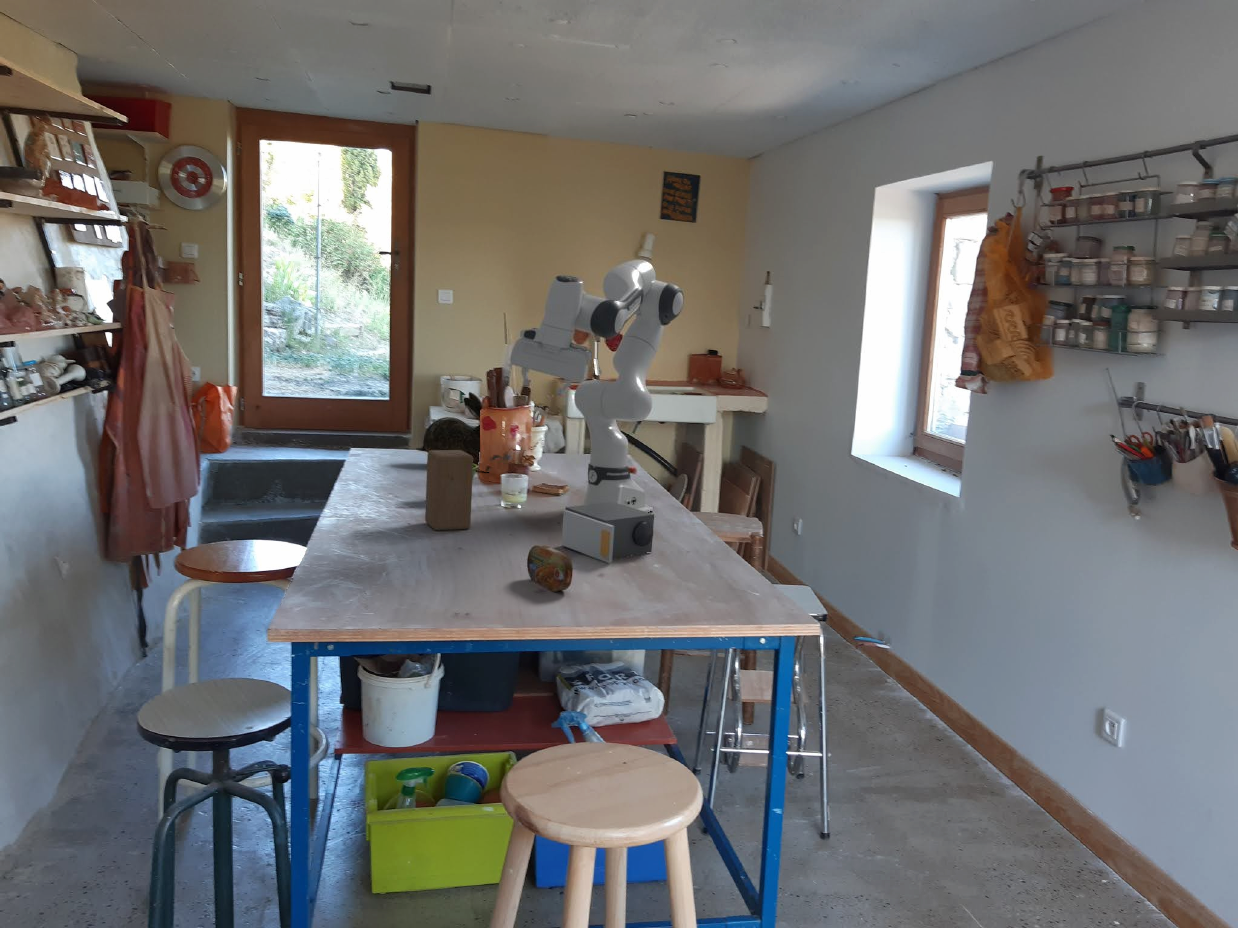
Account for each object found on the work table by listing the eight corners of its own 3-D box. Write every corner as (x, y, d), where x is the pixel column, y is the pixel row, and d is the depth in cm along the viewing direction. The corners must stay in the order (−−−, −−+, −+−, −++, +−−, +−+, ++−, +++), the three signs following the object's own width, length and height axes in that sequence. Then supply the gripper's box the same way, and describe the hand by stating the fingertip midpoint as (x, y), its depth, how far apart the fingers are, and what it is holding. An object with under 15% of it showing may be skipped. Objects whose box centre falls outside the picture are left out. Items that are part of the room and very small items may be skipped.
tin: (525, 577, 213) (527, 541, 211) (537, 576, 214) (539, 539, 213) (561, 596, 201) (563, 558, 199) (573, 594, 203) (576, 556, 201)
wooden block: (434, 531, 247) (437, 456, 244) (424, 522, 256) (426, 449, 253) (471, 529, 252) (474, 455, 249) (459, 521, 261) (462, 449, 257)
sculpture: (474, 477, 323) (477, 397, 319) (412, 465, 339) (414, 388, 334) (509, 471, 339) (513, 395, 335) (449, 459, 354) (452, 386, 350)
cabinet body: (610, 538, 253) (613, 501, 251) (654, 553, 240) (657, 515, 239) (563, 545, 242) (565, 507, 241) (606, 561, 230) (609, 521, 228)
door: (564, 544, 241) (566, 510, 240) (611, 562, 228) (614, 525, 226) (559, 545, 240) (561, 510, 239) (606, 563, 227) (609, 526, 225)
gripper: (596, 348, 245) (583, 400, 247) (522, 329, 248) (510, 380, 250) (590, 348, 238) (578, 401, 241) (514, 328, 242) (502, 381, 244)
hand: (542, 390), depth 245 cm, fingers open, 8 cm apart
